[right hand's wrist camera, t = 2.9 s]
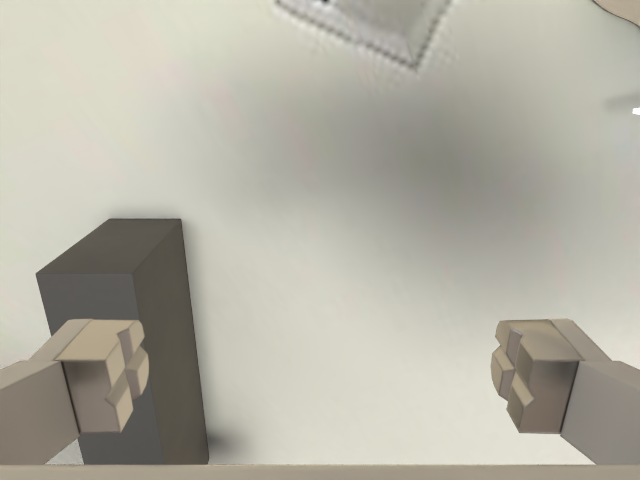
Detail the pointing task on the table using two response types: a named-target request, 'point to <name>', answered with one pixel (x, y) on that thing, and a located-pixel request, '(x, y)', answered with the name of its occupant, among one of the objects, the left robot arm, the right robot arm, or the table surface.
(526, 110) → the table surface
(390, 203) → the table surface
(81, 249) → the box
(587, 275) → the table surface
